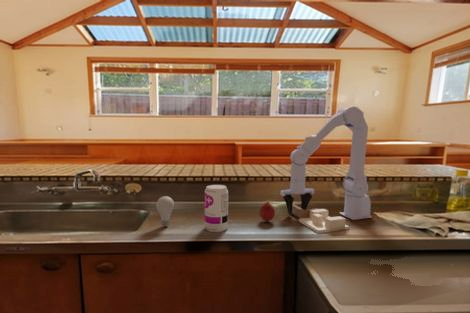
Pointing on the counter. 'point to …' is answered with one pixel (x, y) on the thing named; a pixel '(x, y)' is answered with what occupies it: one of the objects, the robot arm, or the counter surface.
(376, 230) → the counter surface
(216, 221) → the supplement can
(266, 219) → the onion
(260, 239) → the counter surface
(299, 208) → the tan c-shaped bracket
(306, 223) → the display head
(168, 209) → the lightbulb
